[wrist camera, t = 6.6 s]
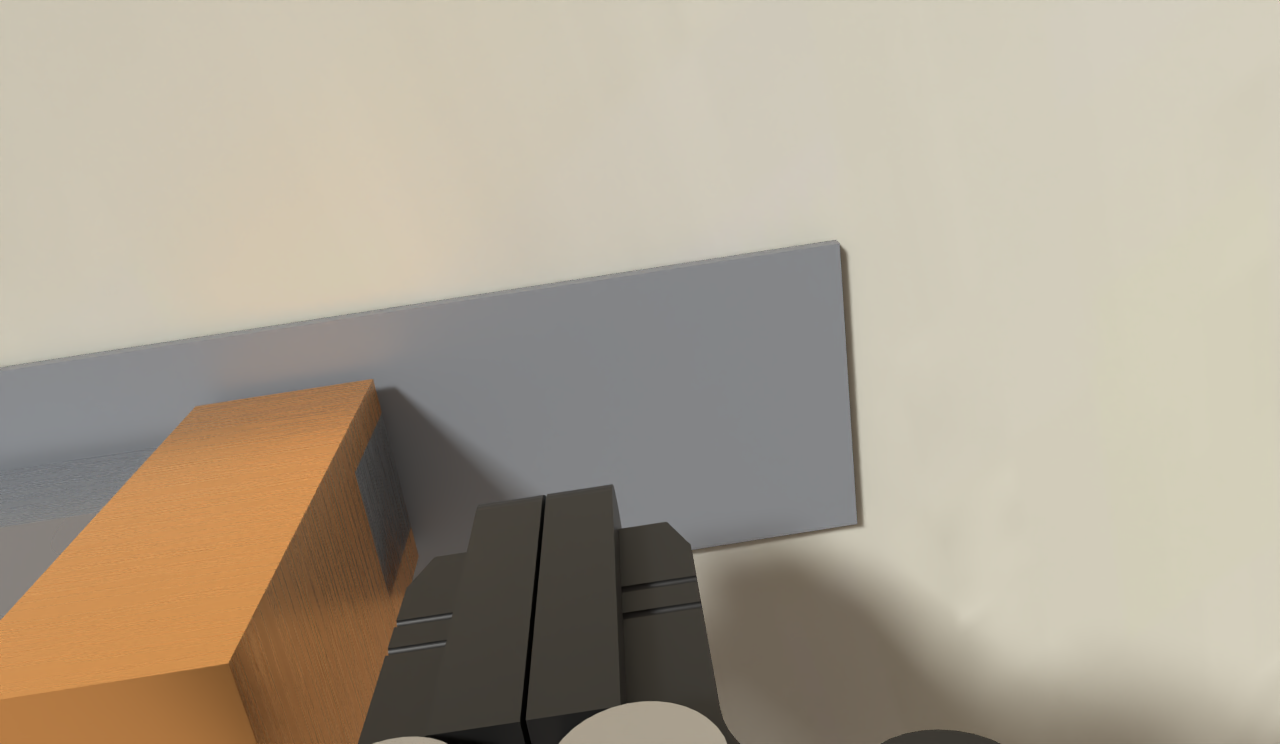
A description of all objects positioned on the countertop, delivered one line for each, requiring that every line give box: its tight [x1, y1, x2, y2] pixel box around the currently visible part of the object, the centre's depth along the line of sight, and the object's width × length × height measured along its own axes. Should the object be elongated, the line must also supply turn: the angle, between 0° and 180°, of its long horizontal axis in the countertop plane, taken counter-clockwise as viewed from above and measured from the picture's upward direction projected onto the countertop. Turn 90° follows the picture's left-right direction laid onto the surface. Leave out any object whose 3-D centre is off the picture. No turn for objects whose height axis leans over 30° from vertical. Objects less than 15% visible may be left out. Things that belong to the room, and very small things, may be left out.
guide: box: [0, 240, 857, 581], centre depth 14 cm, size 4×15×1 cm, turn 98°
